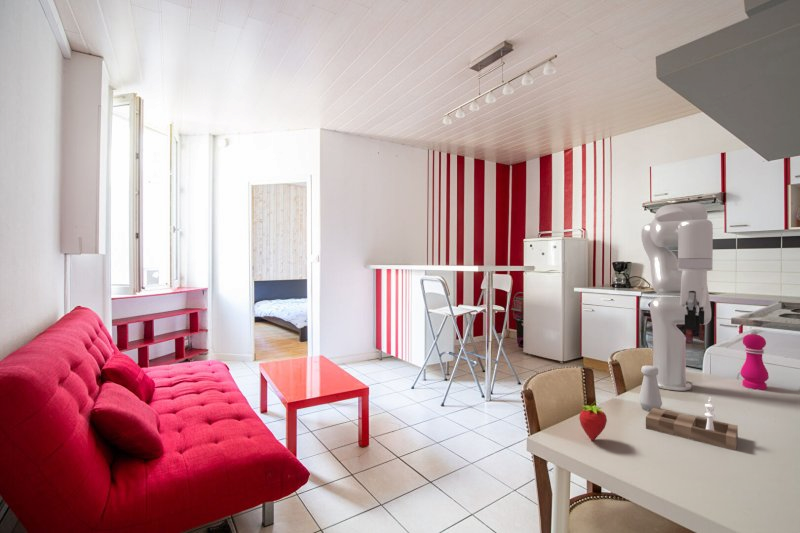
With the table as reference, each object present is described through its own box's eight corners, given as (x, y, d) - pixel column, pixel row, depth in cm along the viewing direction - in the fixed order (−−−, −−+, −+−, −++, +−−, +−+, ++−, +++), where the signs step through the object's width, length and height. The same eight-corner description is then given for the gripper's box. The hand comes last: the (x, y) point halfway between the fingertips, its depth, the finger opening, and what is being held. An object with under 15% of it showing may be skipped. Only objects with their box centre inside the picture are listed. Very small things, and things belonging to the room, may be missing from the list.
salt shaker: (655, 406, 118) (654, 363, 118) (666, 413, 112) (665, 369, 112) (635, 405, 118) (634, 363, 118) (645, 413, 113) (644, 368, 112)
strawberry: (611, 439, 96) (611, 399, 96) (599, 449, 91) (599, 407, 91) (587, 431, 101) (586, 393, 101) (574, 441, 96) (574, 400, 96)
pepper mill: (754, 383, 138) (753, 328, 138) (774, 390, 131) (774, 331, 131) (735, 384, 138) (734, 328, 138) (754, 390, 130) (754, 332, 130)
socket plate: (653, 418, 109) (653, 407, 109) (737, 437, 96) (737, 425, 96) (645, 428, 102) (645, 417, 102) (735, 450, 90) (735, 437, 90)
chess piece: (695, 436, 97) (694, 397, 97) (700, 431, 100) (700, 393, 100) (720, 443, 93) (719, 402, 93) (725, 437, 96) (724, 397, 96)
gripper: (683, 263, 114) (682, 320, 115) (672, 266, 102) (672, 330, 103) (715, 263, 109) (715, 323, 110) (708, 266, 97) (708, 334, 97)
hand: (694, 326), depth 106 cm, fingers open, 9 cm apart
